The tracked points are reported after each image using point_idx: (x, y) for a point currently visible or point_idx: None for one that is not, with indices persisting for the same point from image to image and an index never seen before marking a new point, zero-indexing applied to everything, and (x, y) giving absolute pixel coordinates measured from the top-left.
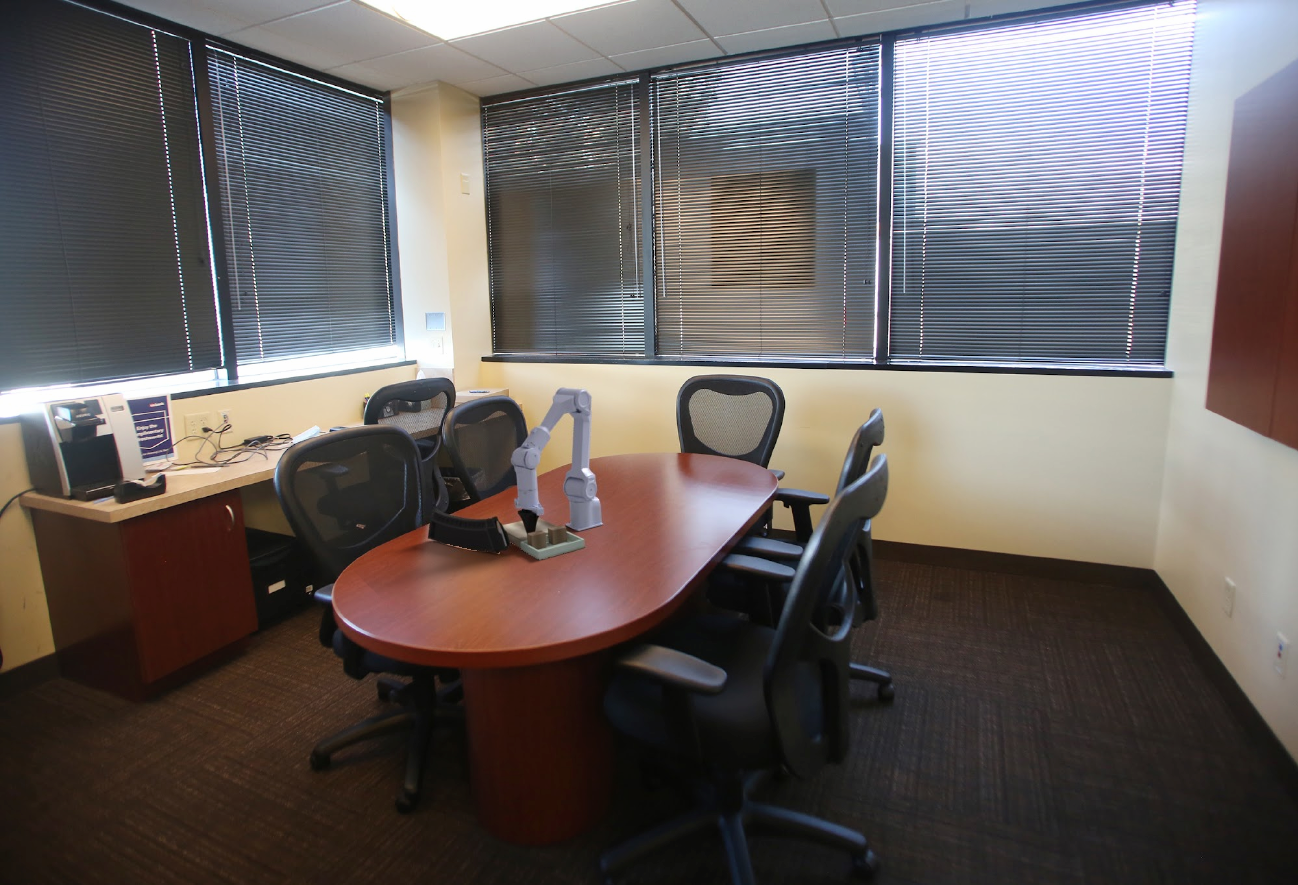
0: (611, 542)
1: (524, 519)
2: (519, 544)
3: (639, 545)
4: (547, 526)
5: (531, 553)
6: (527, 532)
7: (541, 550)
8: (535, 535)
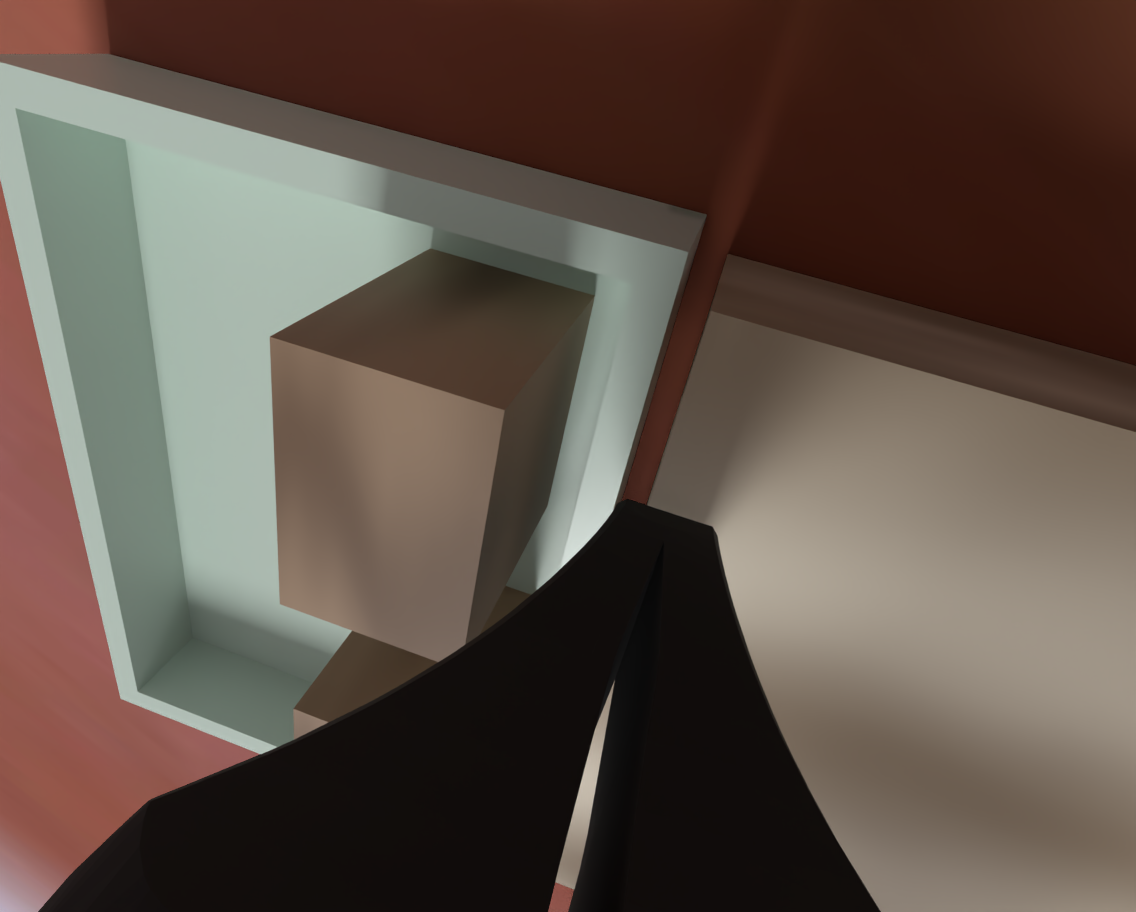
0: (172, 773)
1: (524, 759)
2: (797, 294)
3: (17, 770)
4: None
5: (302, 116)
6: (645, 522)
7: (10, 140)
8: (279, 417)
